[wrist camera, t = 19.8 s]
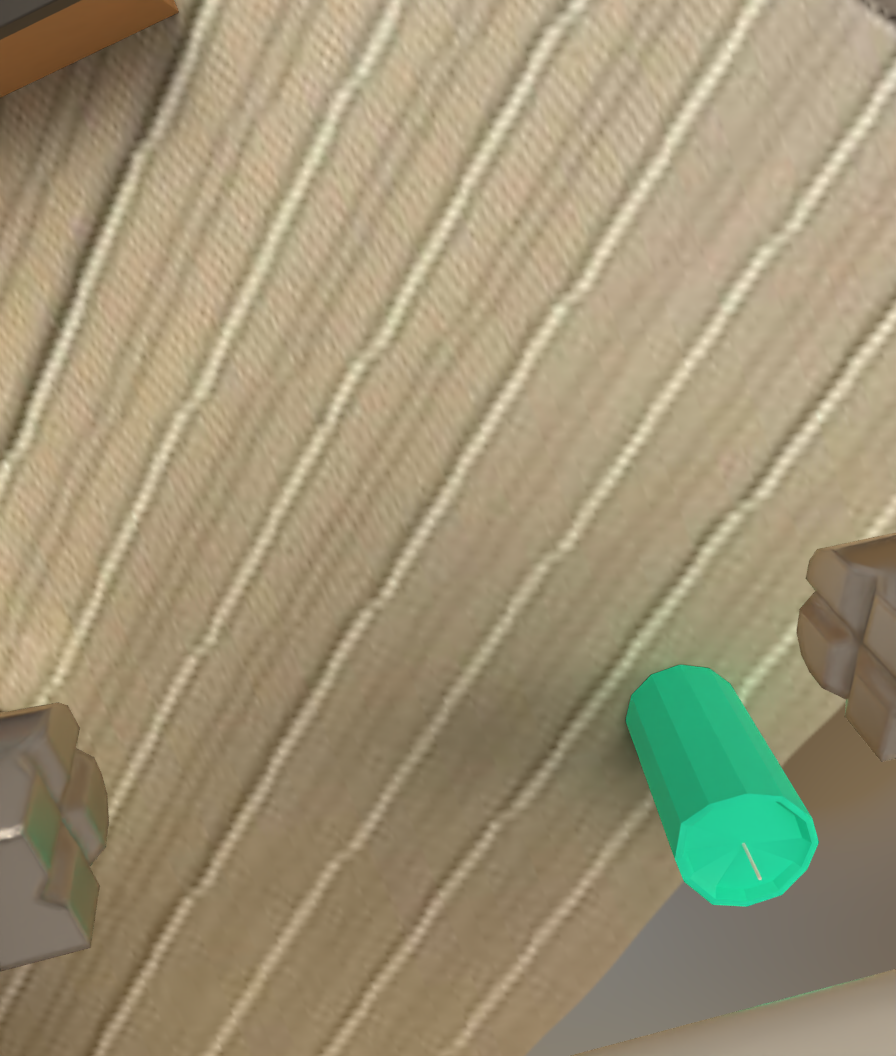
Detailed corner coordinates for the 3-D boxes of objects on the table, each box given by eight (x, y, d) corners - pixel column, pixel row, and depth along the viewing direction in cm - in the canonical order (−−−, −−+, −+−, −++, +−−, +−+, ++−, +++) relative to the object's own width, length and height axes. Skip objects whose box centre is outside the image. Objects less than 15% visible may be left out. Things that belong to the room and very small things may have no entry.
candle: (700, 643, 44) (788, 791, 33) (759, 723, 46) (862, 889, 34) (603, 705, 45) (655, 867, 34) (664, 780, 47) (733, 959, 36)
